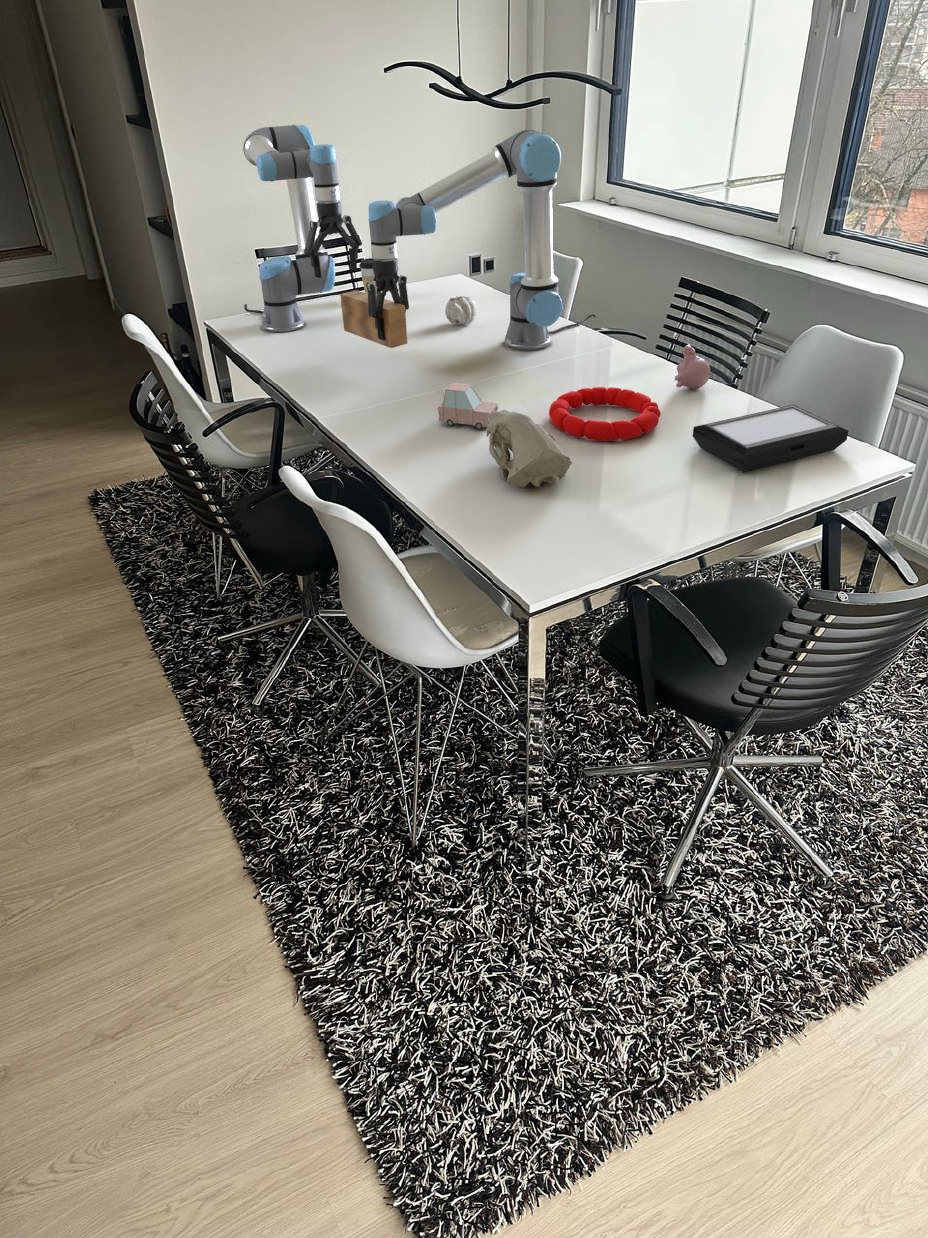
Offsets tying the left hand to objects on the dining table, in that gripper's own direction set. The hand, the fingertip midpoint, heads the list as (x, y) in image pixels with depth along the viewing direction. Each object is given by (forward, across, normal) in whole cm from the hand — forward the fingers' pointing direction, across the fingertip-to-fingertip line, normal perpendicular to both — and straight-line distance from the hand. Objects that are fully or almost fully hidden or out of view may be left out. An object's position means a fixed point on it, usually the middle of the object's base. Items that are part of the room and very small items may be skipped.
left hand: (336, 273), depth 286 cm
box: (+17, +1, -18) cm, 25 cm away
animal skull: (+29, -19, -108) cm, 114 cm away
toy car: (+28, -9, -76) cm, 82 cm away
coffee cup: (+24, +44, +46) cm, 68 cm away
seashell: (+25, +48, -4) cm, 54 cm away
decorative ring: (+28, +18, -101) cm, 106 cm away
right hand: (+15, +1, -27) cm, 31 cm away
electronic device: (+29, +35, -142) cm, 149 cm away
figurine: (+28, +55, -101) cm, 118 cm away
